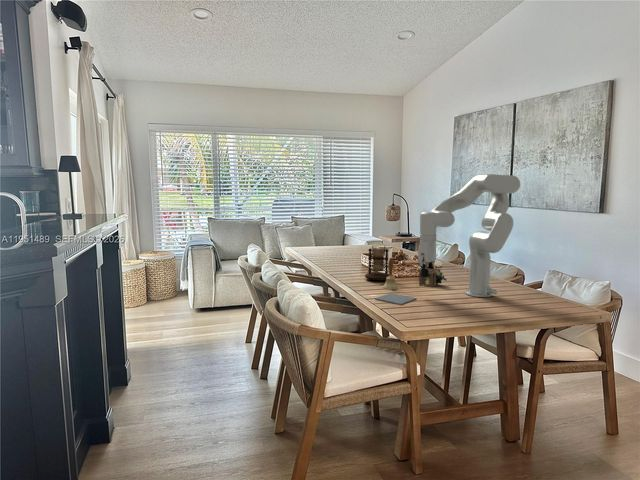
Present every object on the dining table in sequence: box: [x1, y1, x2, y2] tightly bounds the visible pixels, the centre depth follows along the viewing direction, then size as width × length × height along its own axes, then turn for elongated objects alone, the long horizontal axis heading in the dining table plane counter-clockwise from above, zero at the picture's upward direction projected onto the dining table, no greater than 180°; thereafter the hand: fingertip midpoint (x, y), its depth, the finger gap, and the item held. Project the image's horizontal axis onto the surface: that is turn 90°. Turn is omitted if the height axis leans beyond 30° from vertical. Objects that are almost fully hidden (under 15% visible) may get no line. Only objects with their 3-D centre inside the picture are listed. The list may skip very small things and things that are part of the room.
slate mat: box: [374, 292, 417, 306], centre depth 197 cm, size 14×14×1 cm
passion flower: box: [426, 268, 447, 285], centre depth 227 cm, size 11×11×12 cm
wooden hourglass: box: [364, 245, 390, 282], centre depth 240 cm, size 15×15×20 cm
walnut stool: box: [417, 268, 438, 288], centre depth 199 cm, size 7×5×8 cm
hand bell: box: [382, 257, 399, 290], centre depth 220 cm, size 8×8×16 cm
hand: (427, 275), depth 199 cm, fingers closed on walnut stool, 5 cm apart
